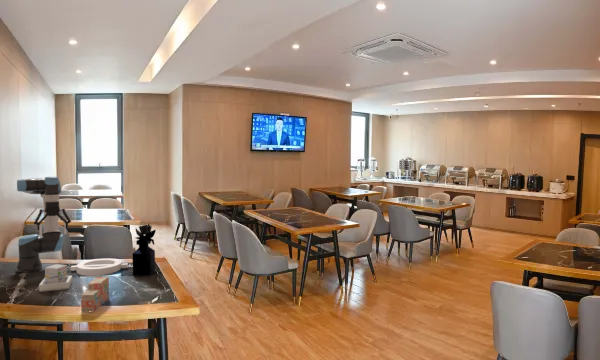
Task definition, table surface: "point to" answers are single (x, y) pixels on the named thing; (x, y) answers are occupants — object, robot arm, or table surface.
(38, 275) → the table surface
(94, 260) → the ring with crossbar
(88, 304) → the stack of blocks
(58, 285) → the box
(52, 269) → the ink box
